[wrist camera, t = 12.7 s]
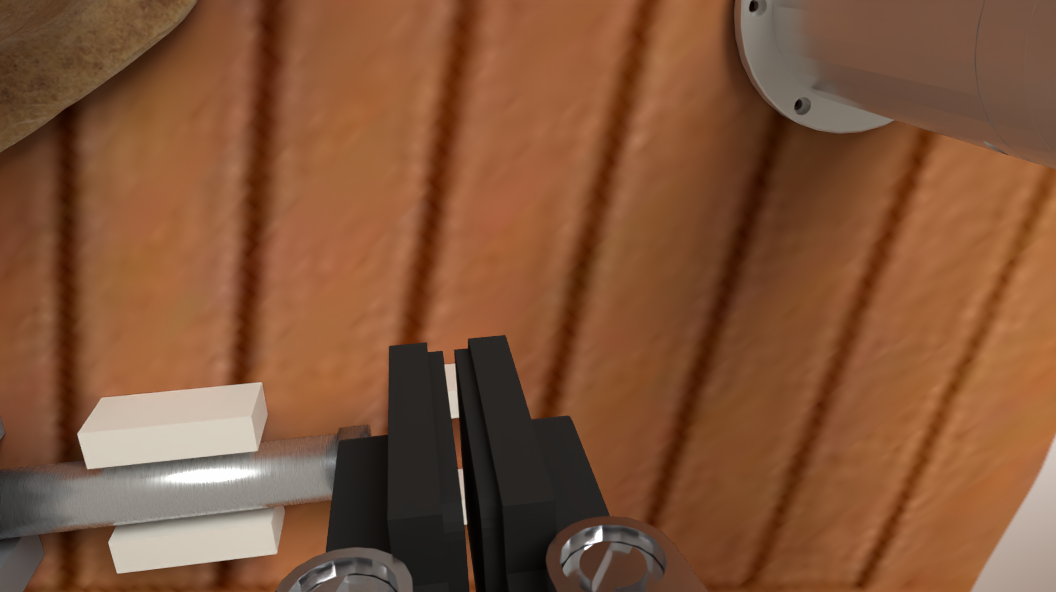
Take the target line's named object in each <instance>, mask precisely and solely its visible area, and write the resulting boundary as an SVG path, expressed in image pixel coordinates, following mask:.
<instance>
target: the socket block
mask: <svg viewBox="0 0 1056 592" xmlns="http://www.w3.org/2000/svg"><path fill="white" fill-rule="evenodd" d="M4 434H5V430H4V427H3V424H2V421H1V418H0V439H1V438H2V437H3V436H4ZM44 555H45V553H44V550H43V547H42V544H41V541H40V538H39V535H30V536H21V537H12V538H4V539H0V592H23V591H24V589H25V588H26V586H27V584H28V582H29V581H30V579H31V577H32V576H33V574H34V572H35V571H36V569H37V567H38V566H39V564H40V562H41V560H42V559H43V557H44Z"/></svg>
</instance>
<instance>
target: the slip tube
mask: <svg viewBox="0 0 1056 592" xmlns="http://www.w3.org/2000/svg"><path fill="white" fill-rule="evenodd" d="M363 437H372V436H371V430H370V426H369V425H360V426H350V427H341V428H339V431H338V434H329V435H320V436H310V437H301V438H291V439H282V440H272V441H263V442H260V445H259V448H258V451H253V452H244V453H234V454H225V455H216V456H207V457H197V458H188V459H179V460H169V461H160V462H151V463H141V464H132V465H123V466H113V467H104V468H95V469H87V466H86V463H85V460H84V461H74V462H65V463H56V464H46V465H37V466H27V467H18V468H8V469H0V539H4V538H12V537H21V536H30V535H38V534H47V533H55V532H64V531H72V530H81V529H90V528H98V527H107V526H115V525H124V524H133V523H141V522H150V521H158V520H167V519H175V518H184V517H193V516H201V515H210V514H218V513H227V512H235V511H244V510H253V509H261V508H270V507H278V506H287V505H295V504H304V503H313V502H321V501H330V500H332V493H333V484H334V475H335V467H336V458H337V449H338V443H339V441H340V440H345V439H354V438H363Z"/></svg>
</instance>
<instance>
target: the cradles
mask: <svg viewBox="0 0 1056 592" xmlns="http://www.w3.org/2000/svg"><path fill="white" fill-rule="evenodd" d="M444 366H445V373H446V381H447V389H448V397H449V404H450V412H451V418H459V411H458V397H457V383H456V369H455V364H445V365H444ZM267 416H268V414H267V408H266V402H265V397H264V391H263V385H262V382H259V383H249V384H238V385H228V386H218V387H207V388H197V389H187V390H176V391H166V392H156V393H145V394H135V395H125V396H114V397H104V398H101V399H100V401H99V402H98V404H97V405H96V407H95V408H94V410H93V411H92V413H91V414H90V416H89V417H88V419H87V420H86V422H85V423H84V425H83V426H82V428H81V429H80V431H79V432H78V434H77V435H78V438H79V442H80V445H81V449H82V452H83V456H84V459H85V463H86V466H87V469H95V468H104V467H113V466H123V465H132V464H141V463H151V462H160V461H169V460H179V459H188V458H197V457H207V456H216V455H225V454H234V453H244V452H253V451H258V448H259V445H260V441H261V437H262V434H263V430H264V427H265V423H266V420H267ZM458 474H459V482H460V489H461V497H462V506H463V516H464V525H466V524H467V519H466V508H465V495H464V481H463V469H458ZM284 515H285V510H284V506H278V507H270V508H261V509H253V510H244V511H235V512H227V513H218V514H210V515H201V516H193V517H184V518H175V519H167V520H158V521H150V522H141V523H133V524H124V525H117V526H116V528H115V530H114V532H113V534H112V536H111V538H110V540H109V542H108V544H109V547H110V551H111V554H112V558H113V561H114V565H115V568H116V572H117V574H119V573H127V572H135V571H143V570H151V569H159V568H167V567H175V566H183V565H191V564H199V563H207V562H215V561H223V560H232V559H240V558H248V557H256V556H264V555H272V554H277V551H278V546H279V541H280V536H281V531H282V526H283V520H284Z"/></svg>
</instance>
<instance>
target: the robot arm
mask: <svg viewBox="0 0 1056 592" xmlns="http://www.w3.org/2000/svg"><path fill="white" fill-rule="evenodd" d="M751 1H753V2H754V5H755V6H754V9H753V10H752V11H749V5H750V2H751ZM734 22H735V38H736V43H737V46H738V50H739V54H740V58H741V62H742V65H743V67H744V69H745V71H746V73H747V75H748V77H749V79H750V81H751V83H752V85H753V86H754V87H755V89H756V90H757V91H758V93H759V94H760V95H761V97H762V98H763V99H764V101H765V102H767V103H768V104H769V105H770V106H771V107H773V108H774V109H775V110H776V111H777V112H778V113H780V114H781V115H783V116H785V117H786V118H788V119H790V120H792V121H794V122H796V123H798V124H800V125H803V126H806V127H809V128H812V129H815V130H817V131H824V132H831V133H838V134H840V133H856V132H863V131H867V130H871V129H874V128H878V127H882V126H884V125H886V124H889V123H891V122H893V121H895V120H896V121H899V122H902V123H906V124H909V125H912V126H915V127H919V128H922V129H925V130H928V131H932V132H935V133H938V134H941V135H945V136H948V137H951V138H954V139H958V140H961V141H964V142H967V143H971V144H974V145H977V146H980V147H984V148H987V149H990V150H993V151H997V152H1000V153H1003V154H1006V155H1010V156H1013V157H1016V158H1019V159H1023V160H1026V161H1029V162H1033V163H1036V164H1039V165H1043V166H1046V167H1049V168H1053V169H1056V0H735V8H734ZM797 100H798V106H797V107H796V108H794V105H795V102H796V101H797ZM454 354H455V369H456V383H457V397H458V411H459V425H460V439H461V453H462V467H463V481H464V495H465V508H466V519H467V528H468V535H469V543H470V550H471V558H472V565H473V573H474V580H475V588H476V592H709V591H708V590H707V588H706V587H705V586H704V584H703V583H702V581H701V580H700V579H699V577H698V576H697V575H696V573H695V572H694V570H693V569H692V568H691V566H690V565H689V564H688V562H687V561H686V559H685V558H684V557H683V555H682V554H681V553H680V551H679V550H678V548H677V547H676V546H675V544H674V543H673V542H672V541H671V540H670V539H669V538H668V537H667V536H666V535H665V534H664V533H663V532H661V531H659V530H658V529H656V528H654V527H652V526H650V525H649V524H647V523H644V522H641V521H637V520H634V519H630V518H626V517H614V516H610V515H609V512H608V510H607V507H606V505H605V502H604V500H603V497H602V495H601V492H600V489H599V487H598V484H597V482H596V479H595V477H594V474H593V472H592V469H591V467H590V464H589V462H588V459H587V457H586V454H585V452H584V449H583V446H582V444H581V441H580V439H579V436H578V434H577V431H576V429H575V426H574V424H573V421H572V419H571V418H570V416H559V417H550V418H541V419H531V417H530V414H529V411H528V407H527V404H526V401H525V397H524V394H523V391H522V388H521V384H520V381H519V378H518V375H517V371H516V368H515V365H514V361H513V358H512V355H511V352H510V348H509V345H508V342H507V338H506V336H505V335H502V336H492V337H481V338H470V339H468V349H458V350H454ZM275 592H469V580H468V566H467V553H466V539H465V527H464V516H463V506H462V497H461V489H460V482H459V474H458V466H457V458H456V451H455V443H454V435H453V428H452V420H451V412H450V404H449V397H448V389H447V381H446V373H445V366H444V358H443V351H437V352H428V350H427V343H416V344H405V345H395V346H389V409H388V435H382V436H373V437H363V438H354V439H345V440H340V441H339V443H338V449H337V458H336V467H335V475H334V484H333V493H332V502H331V510H330V519H329V528H328V536H327V545H326V553H324V554H321V555H318V556H315V557H313V558H312V559H310V560H308V561H306V562H305V563H303V564H301V565H299V566H298V567H296V568H295V569H294V570H293V571H292V572H291V573H289V574H288V575H287V576H286V577H285V578H284V579H283V580H282V581H281V582H280V584H279V586H278V587H277V589H276V591H275Z"/></svg>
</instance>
